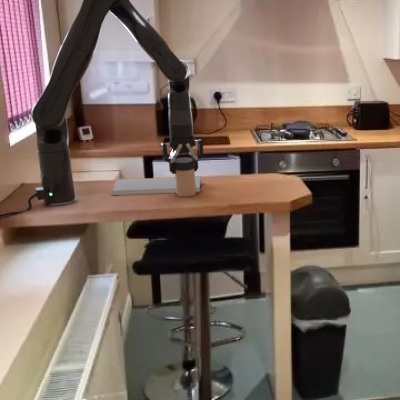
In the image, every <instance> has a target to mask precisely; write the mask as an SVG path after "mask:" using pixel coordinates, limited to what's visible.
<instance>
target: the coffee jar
mask: <svg viewBox="0 0 400 400" xmlns="http://www.w3.org/2000/svg"><path fill="white" fill-rule="evenodd" d="M195 172H196V171H195V170H194V168H193V169H190V170H176V169H175V174H174V178H175V179H176V192H177V193H176V196H178V197H192V196H196V195H197V192H196V185H195V177H196V173H195Z"/></svg>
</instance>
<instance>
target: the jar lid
mask: <svg viewBox="0 0 400 400" xmlns="http://www.w3.org/2000/svg"><path fill="white" fill-rule="evenodd" d="M174 163H175V169H176V170H190V169H193V168H195V162H194V159H193V158H192V157H177V158H175V160H174Z"/></svg>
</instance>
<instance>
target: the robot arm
mask: <svg viewBox="0 0 400 400" xmlns="http://www.w3.org/2000/svg"><path fill="white" fill-rule="evenodd" d="M109 12H110V13H111V14H112V15H113V16H114V17H115V18H117V20H119V22H120V23H121V24H122V25H123V26H124V27H125V29H126V30H127V31H128V33H129V34H130V36H131V37H132V38H133V39H134V40H135V42H136V43H137V44H138V45H139V46H140V48H141V49H143V51H144V53H146V55H147V56H148V57H149V58H150V59H151V60H152V61H153V62H154V63H155V65H156V67H158V70H159V71H160V72H161V73H162V74H163V76H164V77H165V78H166V79H167V80H168V93H167V107H168V129H169V141H168V142H161V143H160V149H161V156H162V157H161V158H162V161H164V162H165V163H168V167H169V168H168V170H169V172H170V173H171V174H172V175H175V163H174V160H175V159H177V158H178V155H182V154H189V155H190V158H193V159H194V162H195V168H194V170H195V172H197V171H198V170H199V160H200V159H203V157H204V141H203V140H202V139H200V138H199V139H195V138H194V125H193V124H194V123H193V121H194V119H193V113H192V109H191V107H192V106H191V97H190V96H191V95H190V87H191V86H190V83H191V81H190V80H191V79H190V78H191V76H190V75H191V74H190V68H189V65H188V64H187V63H186V62H185V61H184V60H181V59H179V58H178V57H177V55H176V54H175V53H174V52H173V51H172V49H171V47H170V45H169V44H168V43H167V41H166V40H165V39H164V37H163V36H162V35H161V34H160V33H159V32H158V31H157V30H156V29H155V28H154V26H152V24H151V23H150V22H149V21H148V20H147V19H145V17H144V16H143V15H142V14H141V13H140V12H139V11H138V10H137V9H136V7H135V6H134V5H133V3H132V2H131V0H82V3H81V6H80V8H79V11H78V13H77V15H76V17H75V19H74V20H73V22H72V23H71V26H70V28H69V30H68V32H67V34H66V36H65V38H64V40H63V42H62V44H61V46H60V48H59V51H58V53H57V56H56V59H55V61H54V64H53V67H52V70H51V74H50V77H49V80H48V82H47V84H46V86H45V88H44V90H43V92H42V93H41V94H40V96H39V98H38V100H37V101H36V103H35V105H34V106H33V107H32V109H31V119H32V122H33V123H34V125H35V133H36V148H37V156H38V163H39V171H40V173H39V175H40V177H39V178H40V183H41V186H39V187H35V193H34V194H32V195H31V196H29V198H28V200H27V204H28V207H27V208H26V209H25V210H20V211H10V212H5V213H1V214H0V218H2V217H6V216H10V215H19V214H22V213H25V212H27V211H30V210H31V209H32V203H31V202H32V200H33V199H34V198H37V200H38V201H43V203H44V206H45V207H60V206H67V205H70V204H73V203H75V202H77V198H76V192H75V185H74V176H73V169H72V167H73V166H72V159H71V153H70V152H71V151H70V140H69V139H70V137H69V129H68V121H67V120H68V119H67V113H66V112H67V108H68V105H69V103H70V100H71V97H72V95H73V93H74V91H75V90H76V88H77V86H78V85H79V83H80V82H81V81H82V79H83V77H84V75H85V74H86V72H87V71H88V68H89V66H90V64H91V63H92V60H93V58H94V56H95V53H96V51H97V48H98V44H99V40H100V35H101V32H102V31H101V30H102V27H103V24H104V21H105V19H106V18H107V15H108V14H109ZM194 146H196V148H197V149H196V150H197V151H196V152H197V153H196V152H195V151H194V149H193V147H194ZM169 147H170V148H171V149H172V150H171V152H170V154H168V150H169Z"/></svg>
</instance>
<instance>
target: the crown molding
mask: <svg viewBox="0 0 400 400" xmlns="http://www.w3.org/2000/svg"><path fill="white" fill-rule="evenodd" d="M202 184H203V181H202V177H201V176H195V185H196V193H200V191H201V185H202ZM150 194H154V195H155V194H177V192H176V179H175V177H155V178H153V177H152V178H151V177H150V178H149V177H148V178H127V179H126V178H123V179H116V180H115V183H114V185H113V189H112V193H111V195H112V196H113V197H114V196H127V195H150Z"/></svg>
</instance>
